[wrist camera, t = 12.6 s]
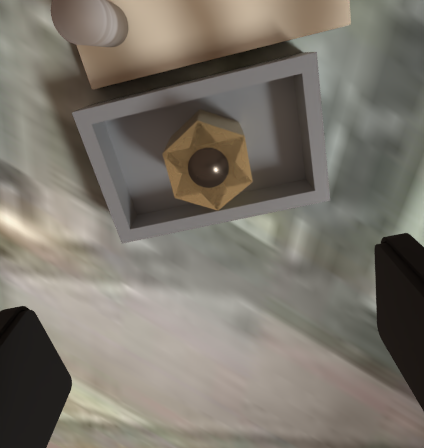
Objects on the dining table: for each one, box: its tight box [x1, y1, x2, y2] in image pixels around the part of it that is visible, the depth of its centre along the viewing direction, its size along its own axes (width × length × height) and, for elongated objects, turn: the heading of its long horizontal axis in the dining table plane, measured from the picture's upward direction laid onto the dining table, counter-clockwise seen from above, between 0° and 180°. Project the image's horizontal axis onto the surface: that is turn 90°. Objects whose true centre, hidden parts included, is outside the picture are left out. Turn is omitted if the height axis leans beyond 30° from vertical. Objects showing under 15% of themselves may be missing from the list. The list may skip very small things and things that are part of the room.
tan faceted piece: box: [163, 109, 253, 210], centre depth 25 cm, size 5×6×5 cm
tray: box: [72, 52, 330, 243], centre depth 26 cm, size 16×10×4 cm, turn 103°
